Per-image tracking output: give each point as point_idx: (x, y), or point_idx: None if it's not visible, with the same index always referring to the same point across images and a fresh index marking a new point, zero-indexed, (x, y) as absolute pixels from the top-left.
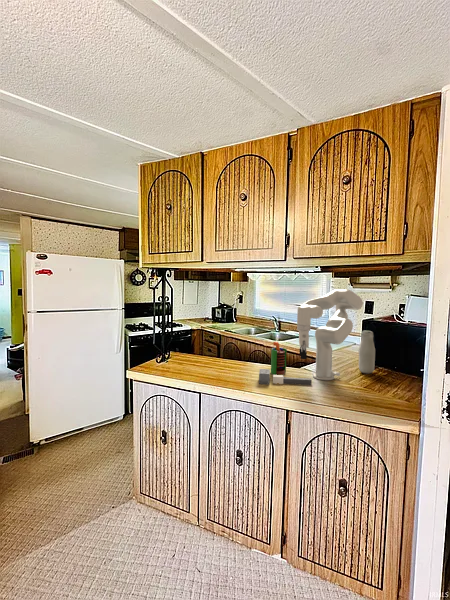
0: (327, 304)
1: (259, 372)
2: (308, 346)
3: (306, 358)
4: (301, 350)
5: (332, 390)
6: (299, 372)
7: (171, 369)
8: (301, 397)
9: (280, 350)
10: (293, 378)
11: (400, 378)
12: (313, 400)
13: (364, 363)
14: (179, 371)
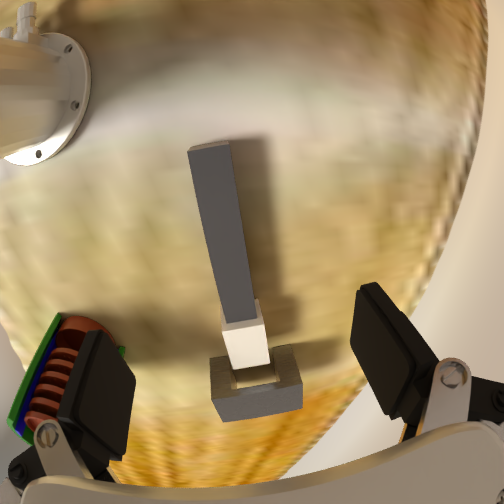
0: None
1: (285, 411)
2: (502, 442)
3: (377, 284)
4: (416, 429)
5: (298, 18)
6: (16, 250)
7: (229, 482)
8: (431, 194)
9: (31, 427)
10: (234, 269)
11: None
12: (452, 145)
13: None
14: (237, 477)
